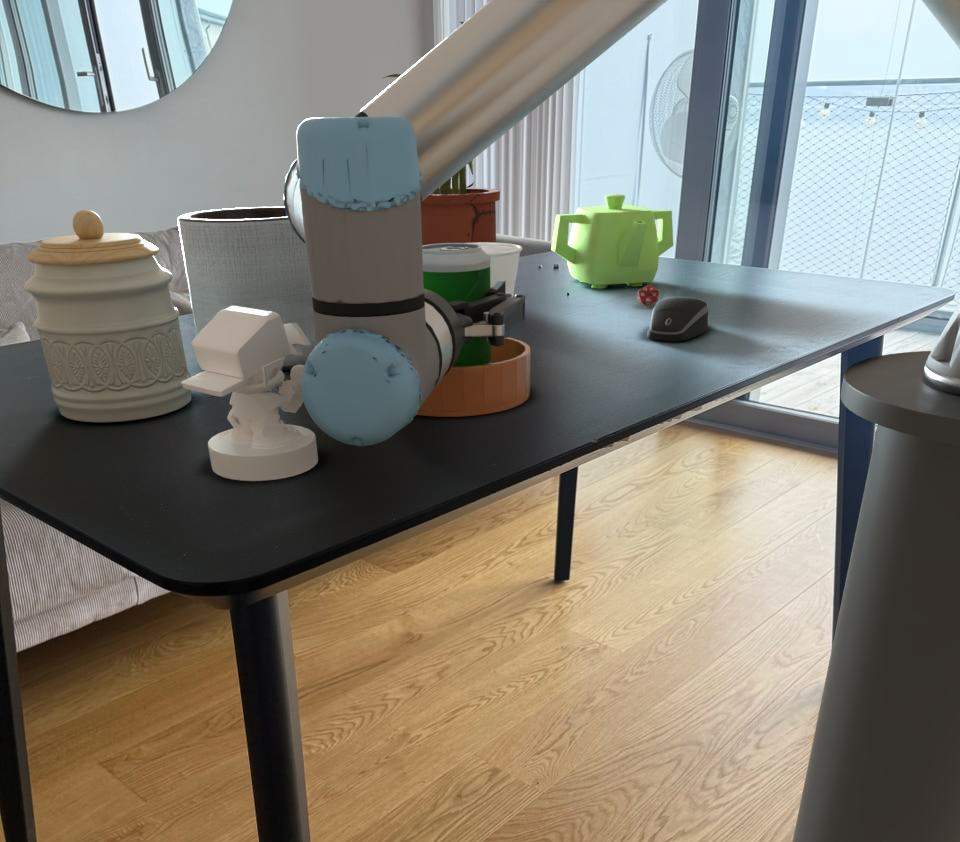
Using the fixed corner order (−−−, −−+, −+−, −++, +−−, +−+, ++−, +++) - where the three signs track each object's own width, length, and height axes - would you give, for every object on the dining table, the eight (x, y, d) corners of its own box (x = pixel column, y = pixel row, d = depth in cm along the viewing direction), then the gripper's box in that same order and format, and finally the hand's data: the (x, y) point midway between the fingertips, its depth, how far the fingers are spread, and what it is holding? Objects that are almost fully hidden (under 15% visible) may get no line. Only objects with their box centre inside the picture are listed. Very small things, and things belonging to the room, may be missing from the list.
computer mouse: (635, 340, 111) (637, 305, 109) (662, 321, 121) (664, 289, 119) (692, 344, 109) (695, 309, 107) (715, 324, 118) (718, 292, 116)
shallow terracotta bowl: (560, 393, 91) (561, 347, 89) (452, 426, 82) (451, 376, 80) (456, 369, 100) (455, 327, 98) (349, 397, 91) (345, 351, 89)
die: (632, 306, 130) (634, 284, 128) (645, 303, 132) (647, 282, 130) (649, 309, 128) (651, 286, 127) (662, 306, 130) (664, 284, 128)
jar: (32, 425, 85) (-24, 218, 76) (90, 389, 96) (47, 204, 87) (169, 425, 84) (128, 216, 75) (211, 388, 95) (180, 202, 86)
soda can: (504, 372, 91) (504, 243, 85) (469, 390, 86) (466, 253, 80) (439, 365, 94) (435, 240, 88) (401, 382, 89) (393, 250, 83)
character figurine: (339, 458, 75) (324, 306, 69) (249, 492, 68) (224, 328, 62) (269, 440, 80) (249, 295, 73) (178, 470, 73) (148, 315, 67)
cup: (538, 343, 110) (540, 246, 105) (480, 358, 104) (478, 255, 99) (482, 332, 117) (480, 240, 111) (424, 345, 111) (419, 248, 105)
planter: (313, 377, 98) (295, 220, 90) (176, 373, 101) (147, 220, 93) (356, 345, 112) (344, 205, 104) (235, 342, 114) (214, 206, 107)
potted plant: (482, 290, 144) (478, 26, 127) (520, 306, 132) (521, 15, 114) (377, 299, 139) (356, 25, 122) (405, 317, 127) (387, 14, 109)
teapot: (696, 290, 140) (705, 197, 134) (572, 298, 137) (575, 202, 130) (651, 273, 156) (657, 189, 149) (539, 279, 153) (541, 193, 146)
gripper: (289, 389, 75) (365, 331, 94) (535, 396, 72) (561, 335, 91) (278, 293, 71) (359, 254, 90) (536, 296, 68) (563, 254, 87)
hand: (461, 294), depth 91 cm, fingers closed on soda can, 7 cm apart
